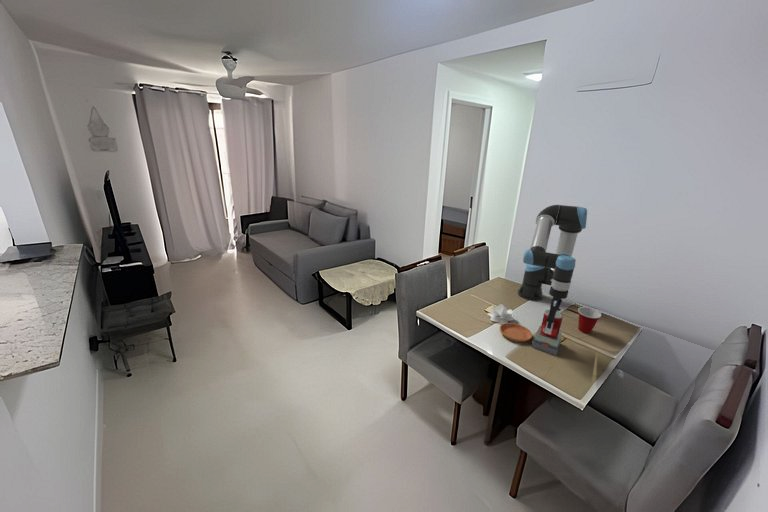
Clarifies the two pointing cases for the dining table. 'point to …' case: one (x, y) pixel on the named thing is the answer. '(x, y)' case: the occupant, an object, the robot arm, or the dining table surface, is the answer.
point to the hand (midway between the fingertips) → (550, 327)
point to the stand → (547, 342)
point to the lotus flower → (501, 314)
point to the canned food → (555, 325)
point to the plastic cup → (587, 319)
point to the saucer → (515, 332)
